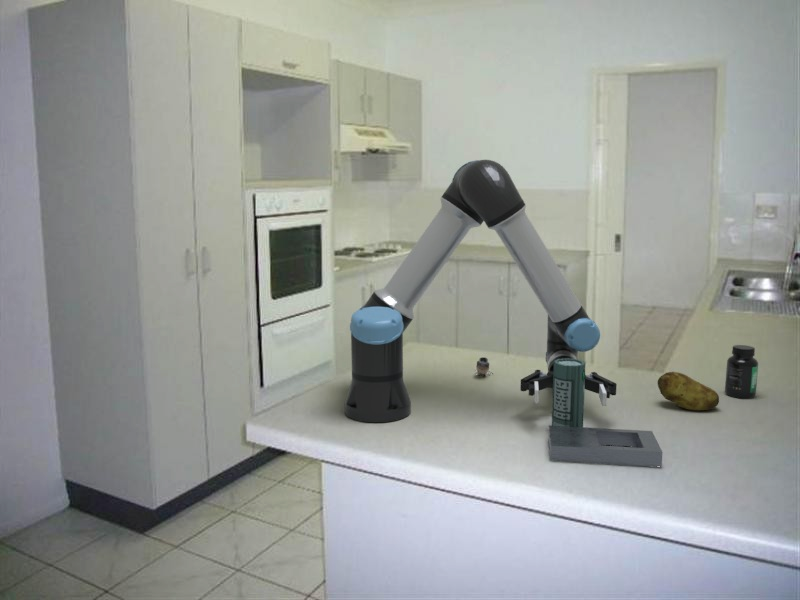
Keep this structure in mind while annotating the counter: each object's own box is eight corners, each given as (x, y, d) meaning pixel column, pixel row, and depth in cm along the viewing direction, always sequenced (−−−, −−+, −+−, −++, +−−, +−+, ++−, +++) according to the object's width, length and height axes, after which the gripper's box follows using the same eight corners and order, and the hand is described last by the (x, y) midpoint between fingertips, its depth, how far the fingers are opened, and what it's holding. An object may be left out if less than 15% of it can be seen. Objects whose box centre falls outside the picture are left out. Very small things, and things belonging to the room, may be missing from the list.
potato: (710, 418, 155) (713, 383, 153) (652, 406, 163) (654, 373, 161) (720, 408, 161) (723, 374, 160) (664, 397, 169) (666, 365, 168)
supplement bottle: (761, 399, 167) (765, 350, 165) (732, 399, 168) (736, 350, 165) (747, 390, 174) (751, 343, 172) (719, 390, 174) (723, 343, 172)
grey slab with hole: (550, 460, 132) (550, 445, 131) (548, 439, 143) (549, 425, 142) (661, 467, 128) (662, 452, 128) (651, 445, 139) (652, 431, 139)
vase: (493, 380, 185) (491, 358, 184) (472, 381, 186) (471, 359, 185) (494, 374, 190) (492, 353, 189) (474, 375, 191) (472, 354, 190)
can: (587, 430, 147) (590, 361, 145) (572, 438, 143) (575, 367, 140) (561, 424, 151) (564, 357, 149) (546, 431, 147) (549, 362, 145)
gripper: (618, 388, 163) (632, 418, 142) (510, 383, 167) (508, 412, 147) (619, 356, 162) (634, 383, 141) (510, 353, 166) (509, 378, 145)
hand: (570, 398), depth 144 cm, fingers open, 13 cm apart
